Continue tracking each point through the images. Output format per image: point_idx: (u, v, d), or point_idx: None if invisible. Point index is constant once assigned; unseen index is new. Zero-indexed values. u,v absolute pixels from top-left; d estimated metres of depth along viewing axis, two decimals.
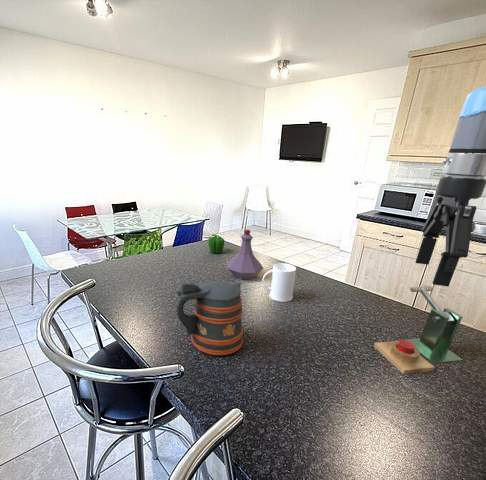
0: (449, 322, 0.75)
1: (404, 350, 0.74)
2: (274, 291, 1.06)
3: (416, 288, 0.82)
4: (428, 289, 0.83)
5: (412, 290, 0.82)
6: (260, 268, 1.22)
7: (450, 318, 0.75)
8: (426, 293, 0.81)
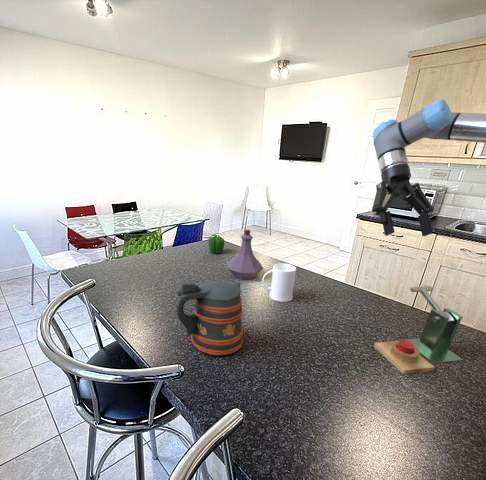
0: (449, 322, 0.75)
1: (404, 350, 0.74)
2: (274, 291, 1.06)
3: (416, 288, 0.82)
4: (428, 289, 0.83)
5: (412, 290, 0.82)
6: (260, 268, 1.22)
7: (450, 318, 0.75)
8: (426, 293, 0.81)
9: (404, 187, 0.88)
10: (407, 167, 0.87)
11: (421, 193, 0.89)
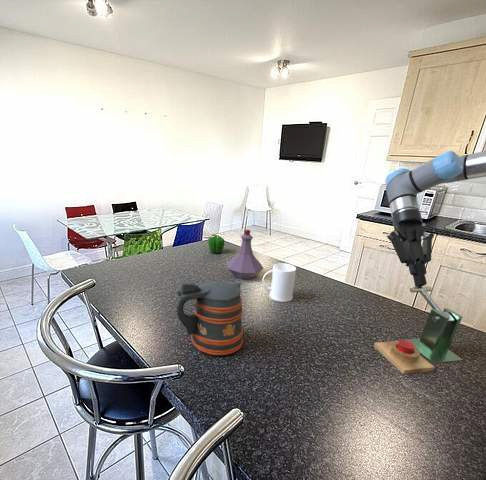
0: (449, 322, 0.75)
1: (404, 350, 0.74)
2: (274, 291, 1.06)
3: (416, 288, 0.82)
4: (428, 289, 0.83)
5: (412, 290, 0.82)
6: (260, 268, 1.22)
7: (450, 318, 0.75)
8: (426, 293, 0.81)
9: (415, 231, 0.88)
10: (416, 212, 0.88)
11: (428, 242, 0.87)
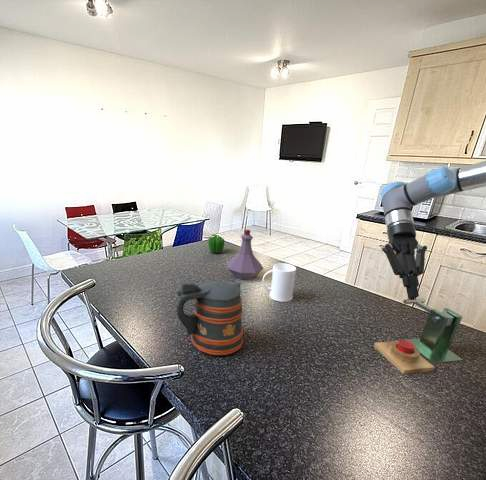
0: (450, 320, 0.75)
1: (404, 350, 0.74)
2: (274, 291, 1.06)
3: (408, 299, 0.85)
4: (421, 300, 0.85)
5: (405, 302, 0.85)
6: (260, 268, 1.22)
7: (449, 316, 0.75)
8: (419, 302, 0.83)
9: (409, 244, 0.90)
10: (410, 225, 0.90)
11: (422, 254, 0.89)
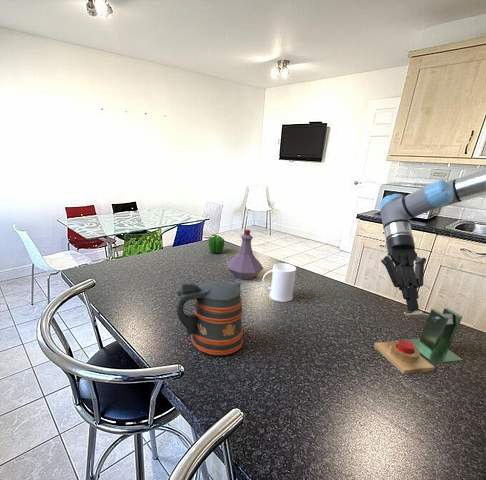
0: (450, 318, 0.75)
1: (404, 350, 0.74)
2: (274, 291, 1.06)
3: (406, 312, 0.86)
4: (418, 312, 0.86)
5: (404, 315, 0.86)
6: (260, 268, 1.22)
7: (447, 314, 0.76)
8: (417, 313, 0.84)
9: (408, 256, 0.91)
10: (409, 237, 0.91)
11: (421, 266, 0.90)
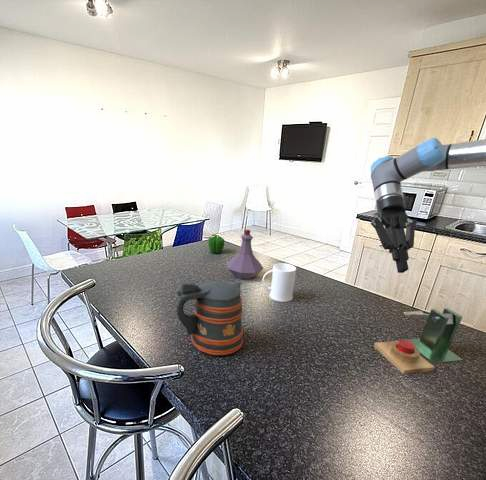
0: (450, 318, 0.75)
1: (404, 350, 0.74)
2: (274, 291, 1.06)
3: (406, 312, 0.86)
4: (418, 312, 0.86)
5: (404, 315, 0.86)
6: (260, 268, 1.22)
7: (447, 314, 0.76)
8: (417, 313, 0.84)
9: (398, 218, 0.88)
10: (399, 198, 0.88)
11: (411, 228, 0.87)
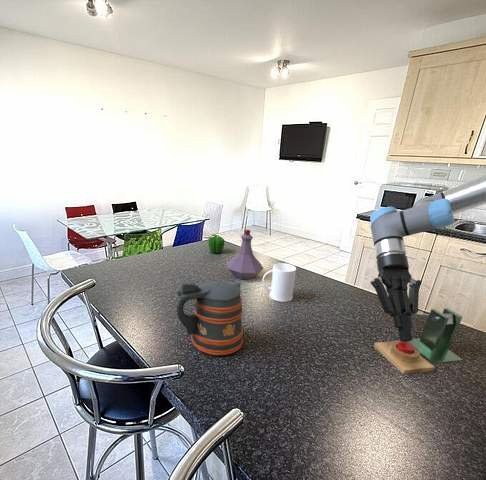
0: (450, 318, 0.75)
1: (403, 351, 0.74)
2: (274, 291, 1.06)
3: None
4: (418, 312, 0.86)
5: None
6: (260, 268, 1.22)
7: (447, 314, 0.76)
8: (417, 313, 0.84)
9: (401, 278, 0.80)
10: (402, 257, 0.80)
11: (415, 290, 0.79)
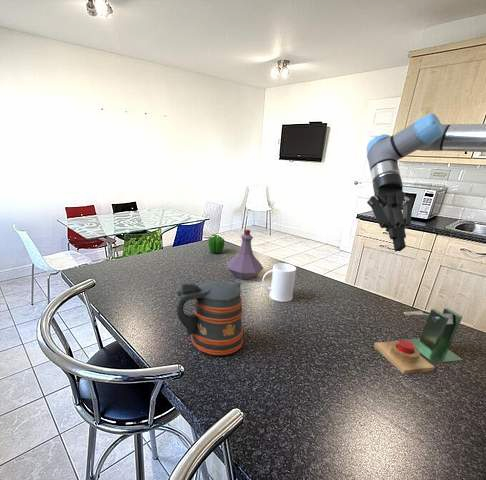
0: (450, 318, 0.75)
1: (404, 350, 0.74)
2: (274, 291, 1.06)
3: (406, 312, 0.86)
4: (418, 312, 0.86)
5: (404, 315, 0.86)
6: (260, 268, 1.22)
7: (447, 314, 0.76)
8: (417, 313, 0.84)
9: (395, 196, 0.86)
10: (396, 176, 0.86)
11: (409, 206, 0.85)
